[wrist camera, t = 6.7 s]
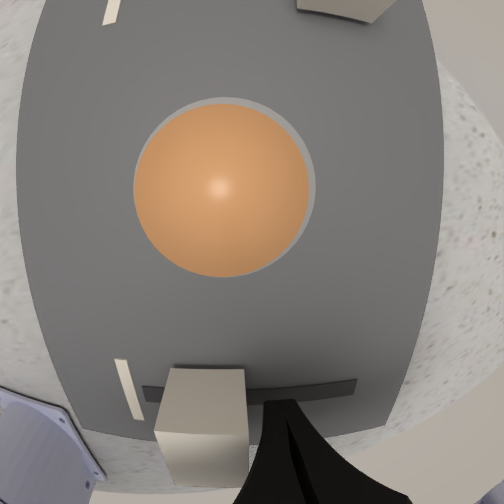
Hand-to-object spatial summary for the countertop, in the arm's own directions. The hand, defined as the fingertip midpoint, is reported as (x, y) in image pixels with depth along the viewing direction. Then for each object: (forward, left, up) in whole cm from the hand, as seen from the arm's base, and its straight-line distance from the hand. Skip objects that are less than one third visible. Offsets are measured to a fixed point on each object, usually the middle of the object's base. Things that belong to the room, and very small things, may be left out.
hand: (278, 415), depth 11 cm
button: (+9, +2, -1) cm, 9 cm away
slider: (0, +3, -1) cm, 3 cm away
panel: (+9, +2, -3) cm, 10 cm away
